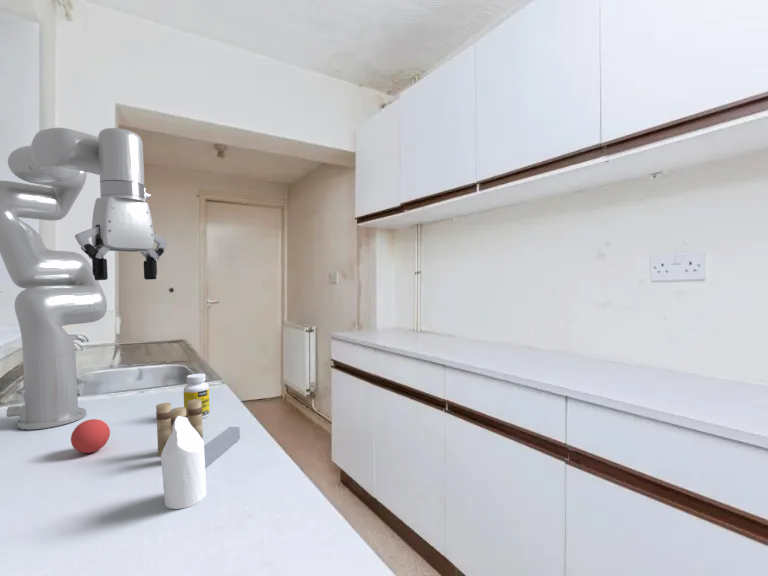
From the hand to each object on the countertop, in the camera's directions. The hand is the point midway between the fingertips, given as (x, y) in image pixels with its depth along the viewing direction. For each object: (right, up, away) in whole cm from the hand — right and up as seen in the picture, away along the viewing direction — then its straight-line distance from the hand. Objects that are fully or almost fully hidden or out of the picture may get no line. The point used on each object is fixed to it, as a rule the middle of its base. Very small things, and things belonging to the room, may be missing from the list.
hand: (127, 279), depth 82 cm
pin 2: (+16, -32, -5) cm, 36 cm away
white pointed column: (+23, -32, -23) cm, 46 cm away
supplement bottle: (+8, -32, +14) cm, 36 cm away
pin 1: (+16, -32, -10) cm, 37 cm away
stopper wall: (+21, -32, -8) cm, 39 cm away
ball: (-4, -30, -5) cm, 30 cm away
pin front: (+11, -32, -7) cm, 35 cm away
